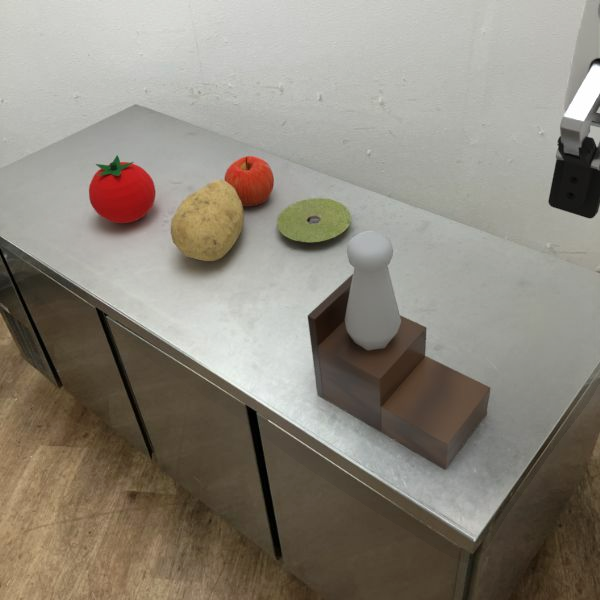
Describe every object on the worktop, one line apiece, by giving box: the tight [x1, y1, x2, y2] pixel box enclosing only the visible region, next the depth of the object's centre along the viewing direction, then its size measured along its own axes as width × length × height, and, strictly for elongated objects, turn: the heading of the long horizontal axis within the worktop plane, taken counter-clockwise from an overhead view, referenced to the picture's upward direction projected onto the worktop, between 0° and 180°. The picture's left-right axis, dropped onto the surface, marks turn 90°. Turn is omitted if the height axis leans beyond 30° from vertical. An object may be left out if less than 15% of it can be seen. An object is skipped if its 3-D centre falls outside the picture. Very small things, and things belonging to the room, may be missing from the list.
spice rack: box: [307, 273, 492, 470], centre depth 69 cm, size 17×9×13 cm, turn 50°
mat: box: [276, 197, 352, 243], centre depth 99 cm, size 11×11×2 cm
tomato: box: [88, 154, 156, 224], centre depth 104 cm, size 10×10×10 cm
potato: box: [170, 179, 245, 262], centre depth 95 cm, size 10×14×10 cm
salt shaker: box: [345, 230, 401, 350], centre depth 65 cm, size 6×6×13 cm
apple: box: [223, 155, 275, 207], centre depth 104 cm, size 8×8×8 cm
